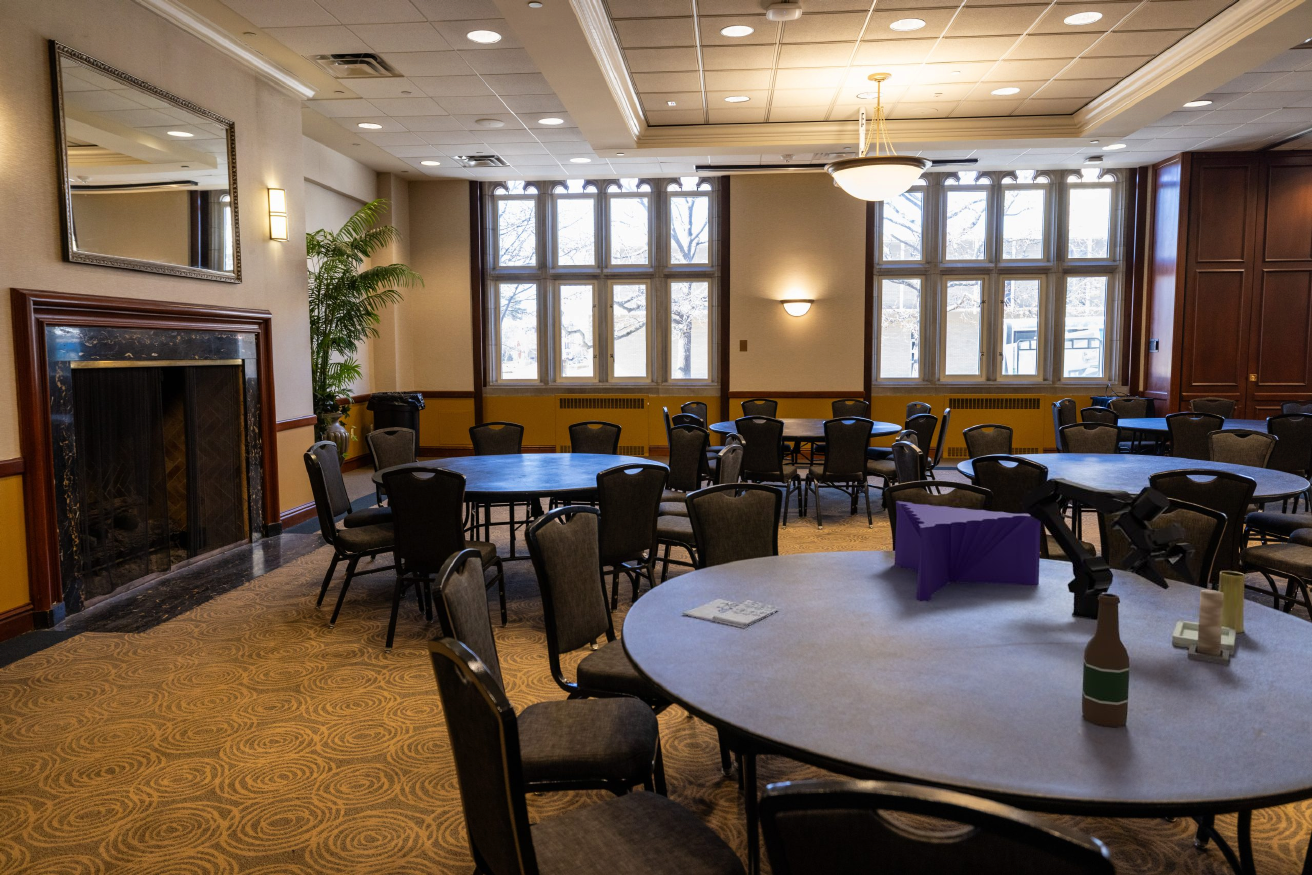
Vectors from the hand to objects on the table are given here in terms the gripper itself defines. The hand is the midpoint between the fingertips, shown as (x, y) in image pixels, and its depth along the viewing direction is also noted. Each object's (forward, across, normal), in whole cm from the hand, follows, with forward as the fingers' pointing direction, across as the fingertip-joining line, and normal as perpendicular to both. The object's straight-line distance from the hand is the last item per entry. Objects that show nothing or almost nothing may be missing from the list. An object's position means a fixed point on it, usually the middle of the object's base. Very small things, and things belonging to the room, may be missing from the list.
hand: (1181, 586), depth 200 cm
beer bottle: (+27, -52, -5) cm, 58 cm away
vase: (+7, +22, +13) cm, 27 cm away
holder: (+16, -1, +5) cm, 16 cm away
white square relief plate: (-38, -85, +55) cm, 108 cm away
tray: (+10, +8, +10) cm, 17 cm away
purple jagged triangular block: (-37, -15, +54) cm, 67 cm away
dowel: (+16, -1, +5) cm, 16 cm away
